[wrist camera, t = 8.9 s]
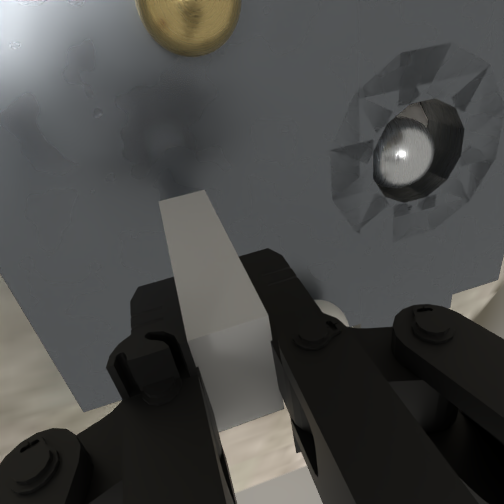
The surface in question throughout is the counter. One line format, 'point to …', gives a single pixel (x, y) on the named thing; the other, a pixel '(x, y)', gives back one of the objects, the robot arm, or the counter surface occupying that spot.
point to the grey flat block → (244, 157)
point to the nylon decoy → (332, 310)
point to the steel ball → (402, 153)
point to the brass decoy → (189, 24)
